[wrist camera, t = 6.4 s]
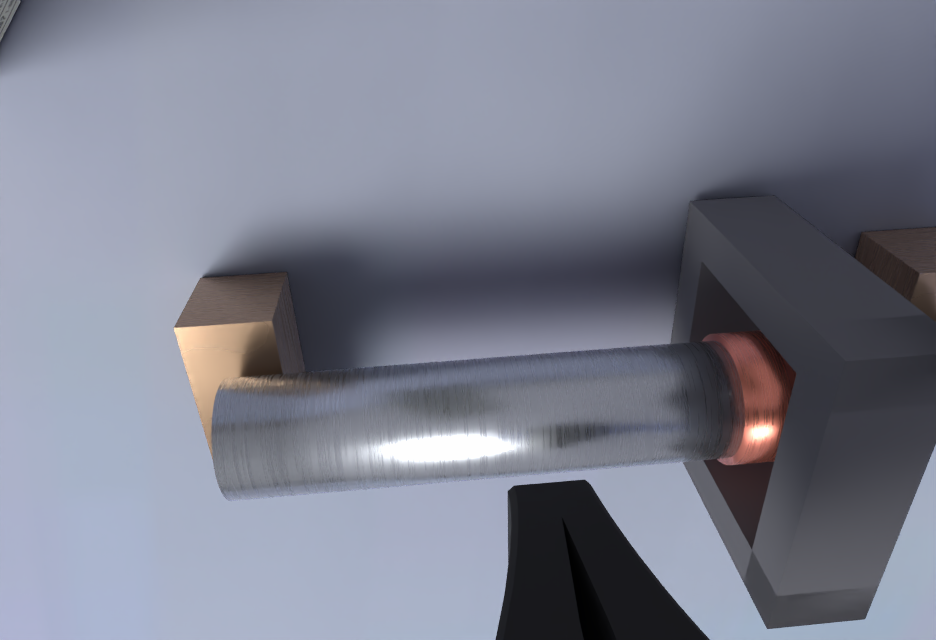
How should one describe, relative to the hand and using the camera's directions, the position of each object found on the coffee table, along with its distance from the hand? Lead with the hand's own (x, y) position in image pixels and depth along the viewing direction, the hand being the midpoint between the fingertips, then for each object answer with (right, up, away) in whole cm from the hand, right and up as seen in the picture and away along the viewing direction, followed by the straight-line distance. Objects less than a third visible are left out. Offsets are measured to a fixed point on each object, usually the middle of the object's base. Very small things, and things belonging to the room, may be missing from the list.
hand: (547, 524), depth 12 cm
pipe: (+1, +3, +6) cm, 7 cm away
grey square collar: (+5, +4, +6) cm, 8 cm away
